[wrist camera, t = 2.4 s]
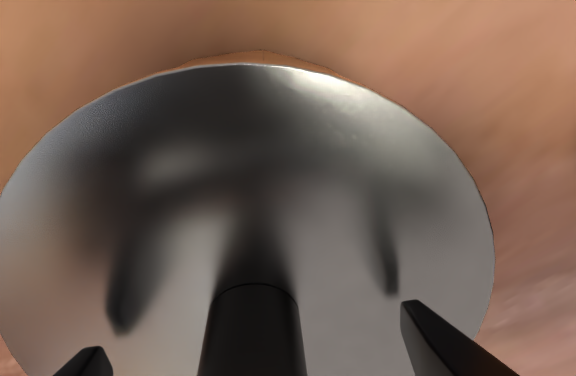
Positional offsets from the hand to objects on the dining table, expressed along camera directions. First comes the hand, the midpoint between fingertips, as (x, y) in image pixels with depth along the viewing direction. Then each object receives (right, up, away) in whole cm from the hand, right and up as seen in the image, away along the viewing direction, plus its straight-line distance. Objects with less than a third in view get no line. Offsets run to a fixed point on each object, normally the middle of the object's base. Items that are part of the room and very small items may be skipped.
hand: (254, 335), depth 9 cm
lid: (0, 0, +1) cm, 1 cm away
